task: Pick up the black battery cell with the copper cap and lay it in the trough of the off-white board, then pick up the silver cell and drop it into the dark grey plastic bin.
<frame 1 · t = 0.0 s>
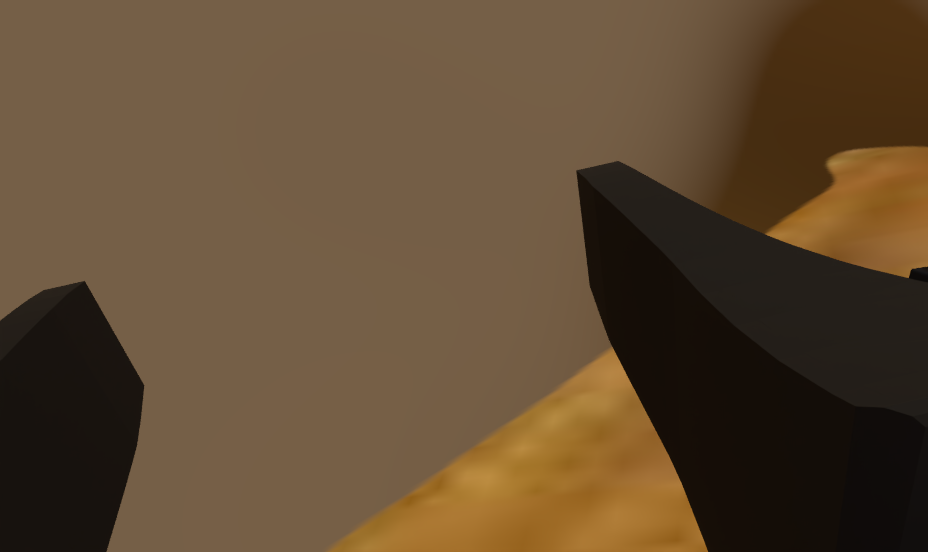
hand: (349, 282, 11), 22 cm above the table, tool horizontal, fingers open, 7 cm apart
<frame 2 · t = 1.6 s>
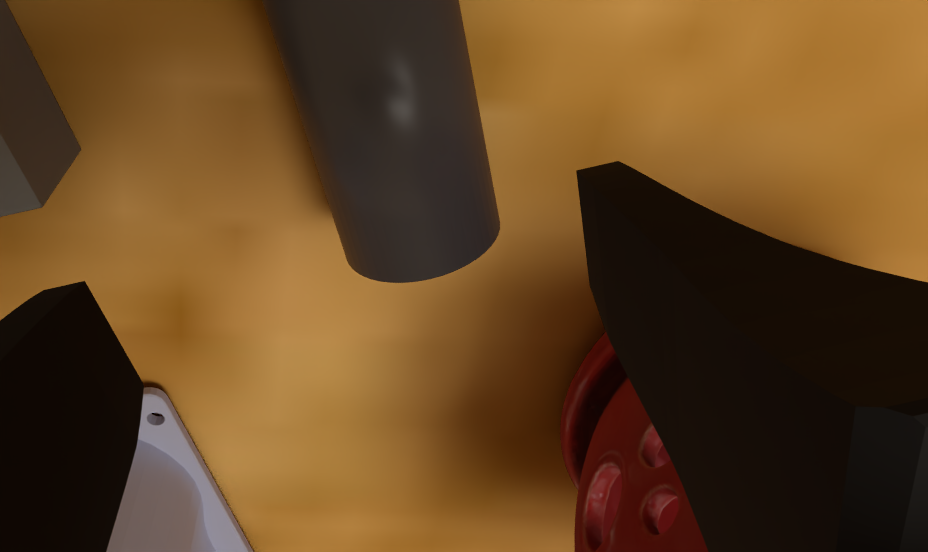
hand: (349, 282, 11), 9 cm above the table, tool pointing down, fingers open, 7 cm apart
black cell: (349, 68, 19), on the table, tilted 24°
plant pot: (708, 372, 27), on the table
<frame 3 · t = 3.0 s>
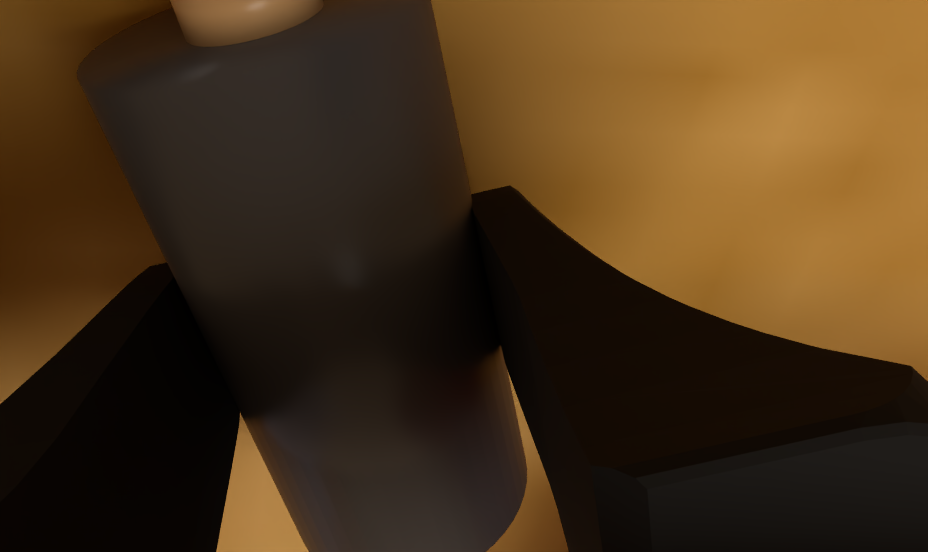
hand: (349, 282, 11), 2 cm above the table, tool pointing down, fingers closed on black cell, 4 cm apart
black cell: (350, 227, 13), on the table, touching gripper
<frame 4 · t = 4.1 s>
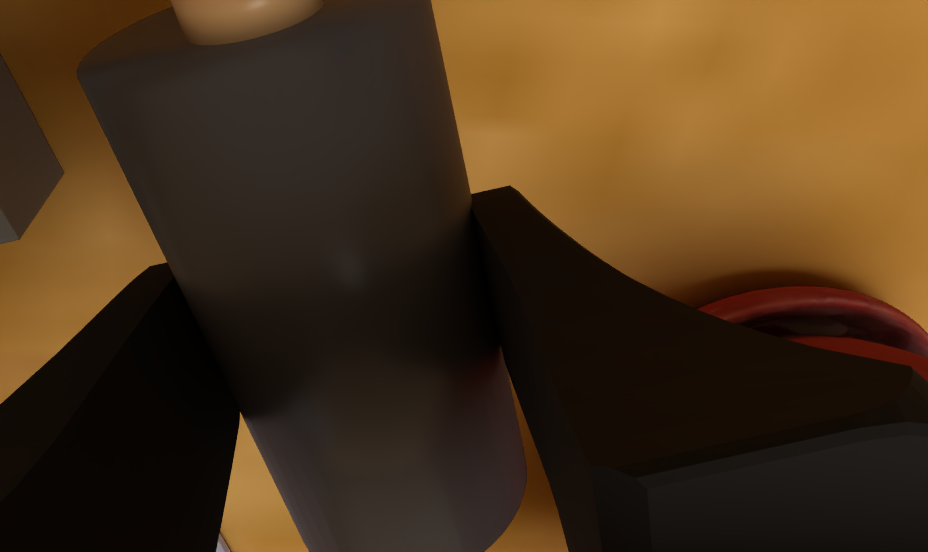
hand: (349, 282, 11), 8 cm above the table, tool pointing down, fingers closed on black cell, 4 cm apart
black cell: (349, 226, 13), point 6 cm above the table, touching gripper
plant pot: (726, 399, 26), on the table
when the fingers open (4 cm above the table, at t = 7.2 s): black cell drops 1 cm, resting on trough board.
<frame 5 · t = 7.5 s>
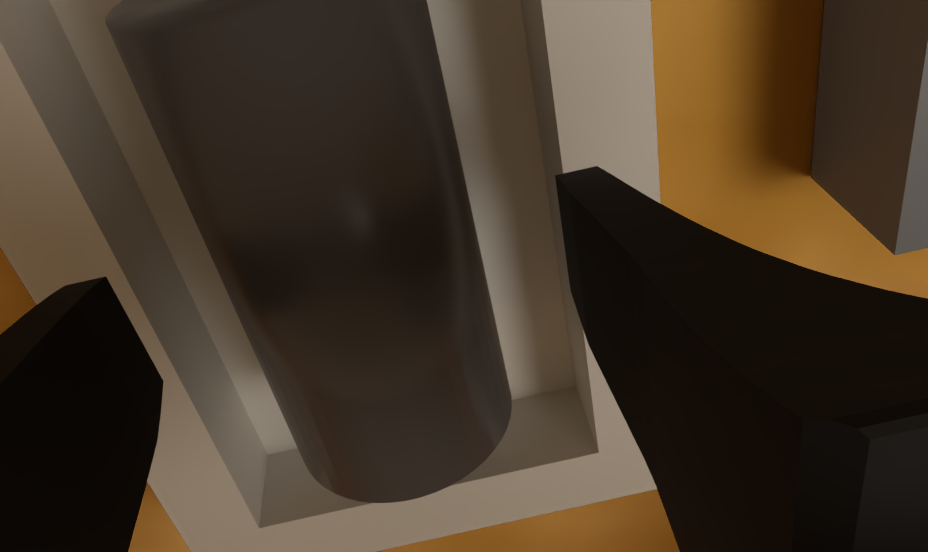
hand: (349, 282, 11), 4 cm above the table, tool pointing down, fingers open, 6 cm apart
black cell: (354, 176, 14), point 1 cm above the table, touching trough board
trough board: (349, 165, 15), on the table
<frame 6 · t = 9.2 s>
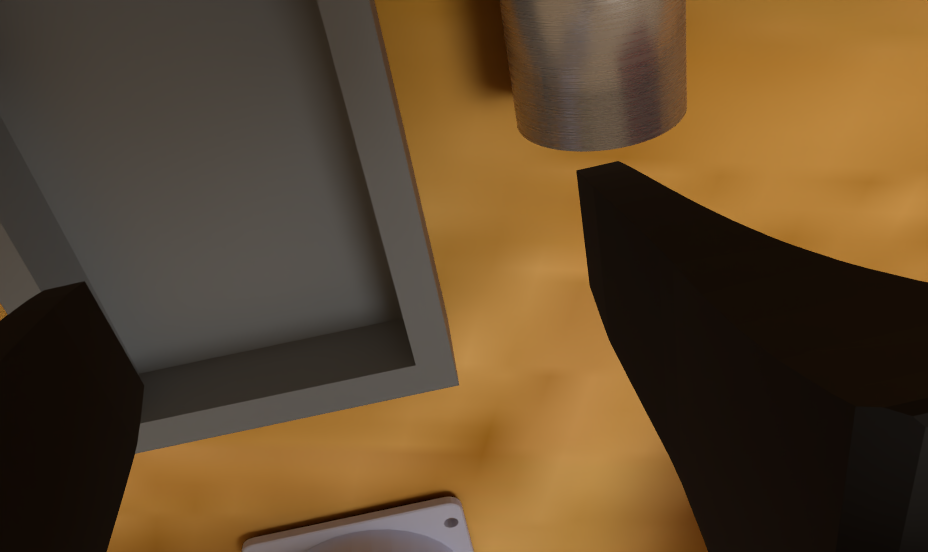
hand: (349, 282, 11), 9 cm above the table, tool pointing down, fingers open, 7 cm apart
bin: (213, 163, 20), on the table
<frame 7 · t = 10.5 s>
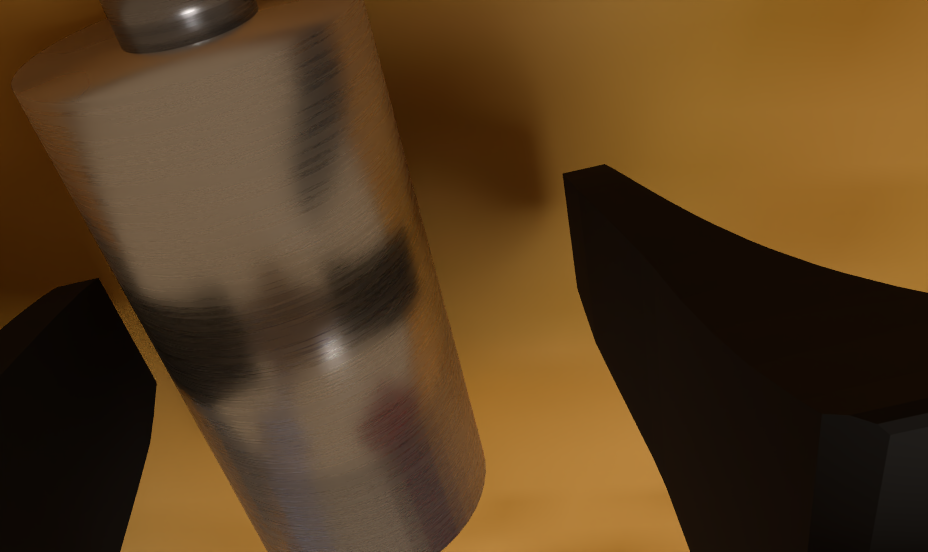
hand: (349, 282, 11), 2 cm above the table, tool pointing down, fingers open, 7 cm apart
silver cell: (405, 233, 12), point 1 cm above the table, tilted 55°
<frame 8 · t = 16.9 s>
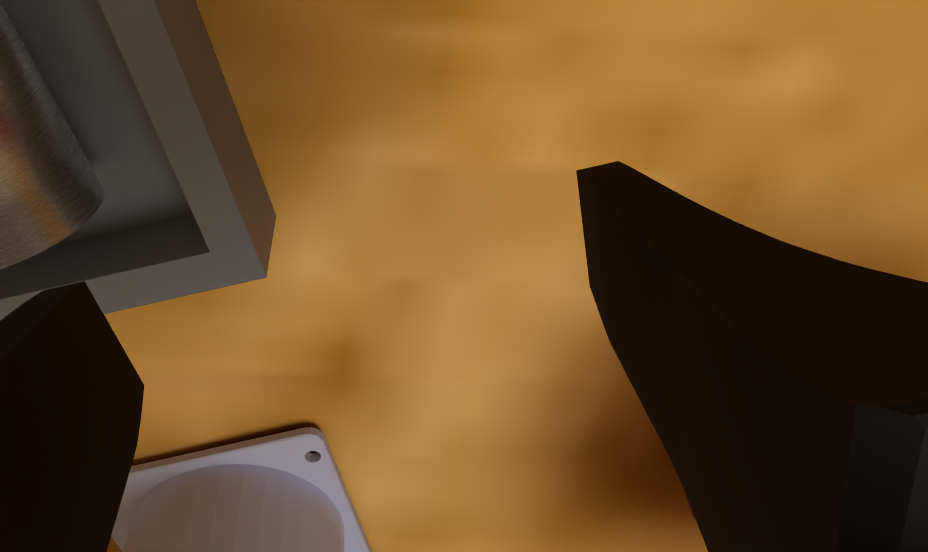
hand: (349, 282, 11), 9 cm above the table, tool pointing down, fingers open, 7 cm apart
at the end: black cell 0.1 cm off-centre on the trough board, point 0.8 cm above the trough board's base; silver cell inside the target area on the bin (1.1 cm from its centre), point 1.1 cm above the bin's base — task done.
